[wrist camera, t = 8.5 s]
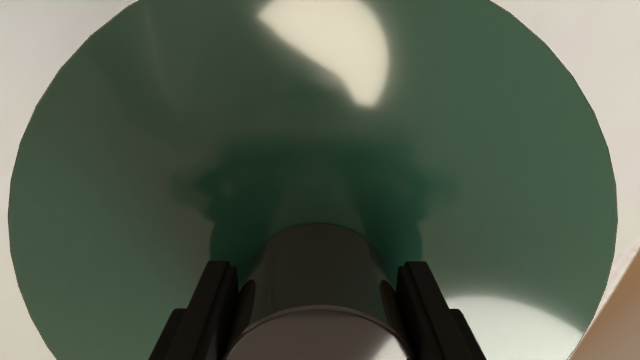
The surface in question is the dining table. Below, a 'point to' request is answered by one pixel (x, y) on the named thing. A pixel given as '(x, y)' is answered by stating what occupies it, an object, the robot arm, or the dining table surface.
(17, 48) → the dining table surface
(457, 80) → the lid
